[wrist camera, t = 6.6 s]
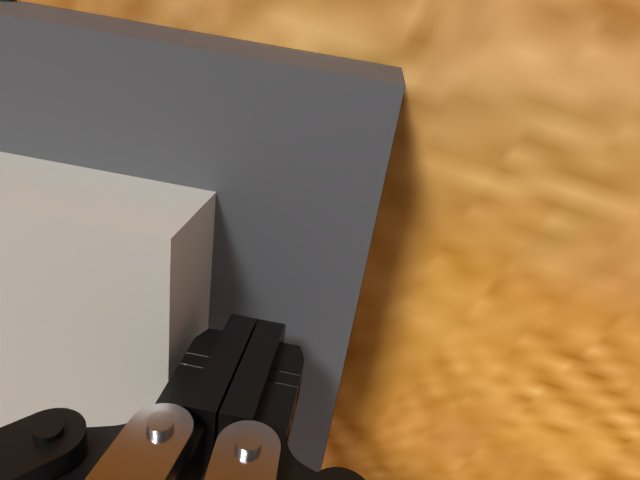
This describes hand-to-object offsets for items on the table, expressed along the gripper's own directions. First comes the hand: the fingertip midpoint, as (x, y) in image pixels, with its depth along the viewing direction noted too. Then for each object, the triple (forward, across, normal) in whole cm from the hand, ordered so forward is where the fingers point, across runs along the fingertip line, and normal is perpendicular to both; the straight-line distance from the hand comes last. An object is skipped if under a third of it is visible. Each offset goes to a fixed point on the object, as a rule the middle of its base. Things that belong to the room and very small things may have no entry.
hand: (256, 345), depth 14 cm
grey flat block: (+5, +4, 0) cm, 6 cm away
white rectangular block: (+1, +7, 0) cm, 7 cm away
